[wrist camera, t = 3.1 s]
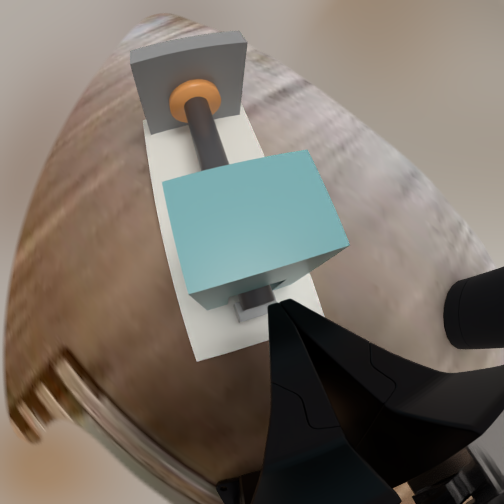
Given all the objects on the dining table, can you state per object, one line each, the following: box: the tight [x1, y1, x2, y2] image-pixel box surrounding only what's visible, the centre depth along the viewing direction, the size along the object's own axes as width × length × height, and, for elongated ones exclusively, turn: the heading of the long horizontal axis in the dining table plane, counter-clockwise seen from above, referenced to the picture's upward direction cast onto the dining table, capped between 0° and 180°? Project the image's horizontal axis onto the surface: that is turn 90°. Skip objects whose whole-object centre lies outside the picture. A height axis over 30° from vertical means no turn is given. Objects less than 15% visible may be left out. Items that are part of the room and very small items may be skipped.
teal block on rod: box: [162, 150, 350, 310], centre depth 12 cm, size 4×5×8 cm
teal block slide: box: [130, 31, 324, 361], centre depth 14 cm, size 18×8×8 cm, turn 18°
